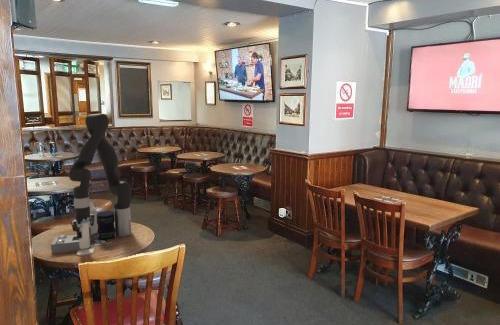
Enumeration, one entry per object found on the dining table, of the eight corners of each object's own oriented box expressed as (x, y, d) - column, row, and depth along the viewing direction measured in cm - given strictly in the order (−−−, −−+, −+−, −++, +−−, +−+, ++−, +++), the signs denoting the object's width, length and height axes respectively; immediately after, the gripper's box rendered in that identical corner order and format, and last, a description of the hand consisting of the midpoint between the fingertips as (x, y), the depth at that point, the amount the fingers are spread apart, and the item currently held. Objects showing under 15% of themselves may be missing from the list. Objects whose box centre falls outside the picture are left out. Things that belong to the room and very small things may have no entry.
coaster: (94, 249, 198) (94, 248, 198) (93, 253, 192) (93, 252, 192) (78, 251, 195) (78, 250, 195) (76, 255, 190) (76, 254, 190)
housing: (90, 241, 209) (89, 233, 208) (88, 249, 198) (87, 240, 197) (55, 245, 203) (55, 236, 203) (51, 253, 192) (50, 244, 191)
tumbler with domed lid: (84, 244, 197) (83, 216, 194) (92, 245, 195) (91, 217, 192) (76, 247, 192) (74, 219, 189) (84, 249, 190) (82, 221, 187)
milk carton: (98, 232, 224) (96, 203, 221) (87, 236, 218) (85, 205, 215) (91, 230, 227) (89, 201, 224) (80, 233, 221) (78, 203, 218)
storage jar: (115, 233, 222) (114, 210, 219) (115, 239, 212) (113, 215, 210) (98, 235, 218) (96, 211, 216) (97, 241, 209) (95, 216, 207)
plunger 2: (64, 248, 198) (63, 239, 197) (63, 250, 195) (62, 241, 194) (58, 249, 197) (57, 239, 196) (57, 251, 194) (56, 241, 193)
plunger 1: (66, 243, 204) (65, 234, 203) (65, 245, 201) (64, 236, 200) (60, 244, 203) (59, 235, 202) (59, 246, 200) (58, 237, 199)
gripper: (76, 209, 182) (78, 242, 184) (97, 202, 195) (99, 233, 198) (65, 208, 184) (67, 239, 187) (87, 201, 198) (89, 231, 200)
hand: (84, 236), depth 192 cm, fingers closed on tumbler with domed lid, 5 cm apart
